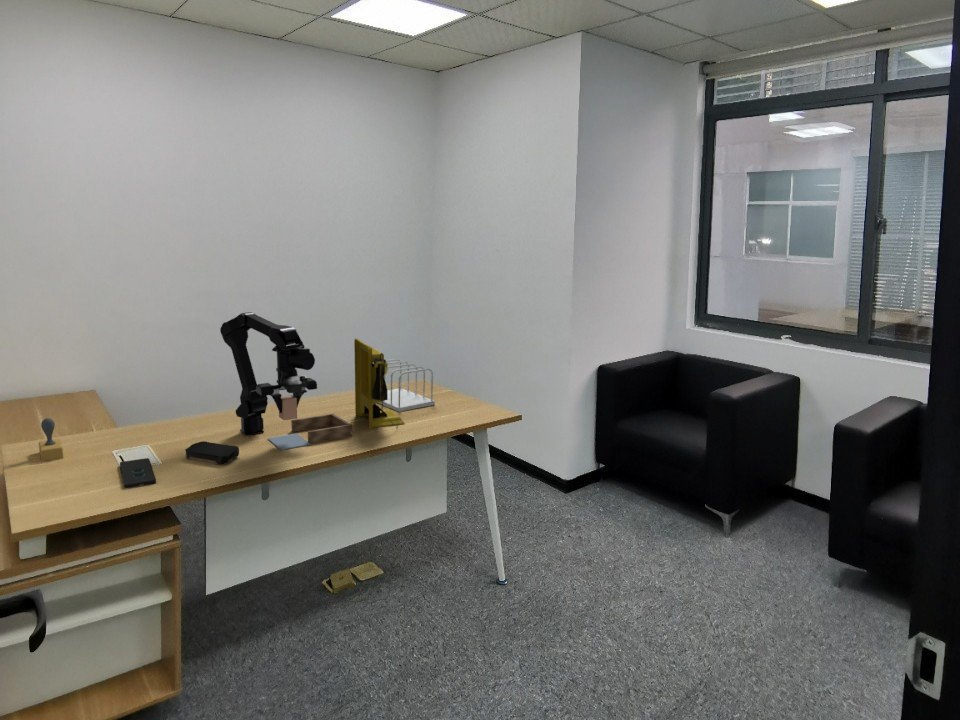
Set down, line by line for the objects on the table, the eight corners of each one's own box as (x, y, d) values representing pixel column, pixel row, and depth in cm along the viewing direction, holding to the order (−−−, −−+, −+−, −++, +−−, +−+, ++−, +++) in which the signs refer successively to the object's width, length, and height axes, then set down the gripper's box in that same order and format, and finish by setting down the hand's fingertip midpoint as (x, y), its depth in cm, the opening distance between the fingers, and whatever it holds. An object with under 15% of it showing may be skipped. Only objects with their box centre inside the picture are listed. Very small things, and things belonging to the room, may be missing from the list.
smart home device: (123, 484, 190) (118, 461, 207) (124, 490, 190) (119, 467, 207) (156, 479, 194) (149, 457, 211) (157, 485, 194) (149, 462, 211)
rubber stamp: (39, 452, 216) (35, 415, 214) (61, 449, 220) (57, 413, 217) (41, 462, 208) (37, 423, 206) (63, 458, 212) (59, 420, 209)
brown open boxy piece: (309, 443, 230) (308, 432, 229) (291, 431, 243) (291, 420, 242) (352, 436, 239) (351, 424, 238) (333, 424, 252) (332, 413, 251)
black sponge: (243, 458, 216) (242, 446, 215) (224, 466, 208) (223, 455, 208) (201, 451, 222) (200, 440, 221) (181, 459, 214) (180, 448, 213)
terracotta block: (283, 420, 226) (283, 399, 225) (279, 417, 230) (278, 396, 228) (297, 418, 229) (296, 397, 227) (292, 415, 232) (291, 394, 231)
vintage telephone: (413, 431, 245) (413, 348, 239) (375, 436, 239) (374, 351, 233) (386, 408, 273) (386, 333, 267) (351, 412, 267) (350, 335, 261)
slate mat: (281, 450, 223) (281, 449, 223) (267, 439, 233) (267, 438, 233) (310, 444, 229) (310, 443, 229) (296, 434, 239) (296, 433, 239)
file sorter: (365, 398, 288) (365, 361, 285) (401, 392, 299) (401, 357, 296) (398, 412, 269) (398, 373, 266) (435, 405, 280) (435, 367, 277)
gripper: (266, 373, 214) (268, 422, 217) (323, 367, 225) (324, 413, 228) (254, 367, 223) (256, 413, 226) (310, 361, 233) (311, 405, 237)
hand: (287, 411), depth 229 cm, fingers closed on terracotta block, 4 cm apart
